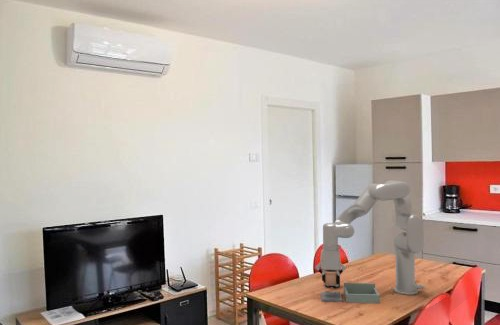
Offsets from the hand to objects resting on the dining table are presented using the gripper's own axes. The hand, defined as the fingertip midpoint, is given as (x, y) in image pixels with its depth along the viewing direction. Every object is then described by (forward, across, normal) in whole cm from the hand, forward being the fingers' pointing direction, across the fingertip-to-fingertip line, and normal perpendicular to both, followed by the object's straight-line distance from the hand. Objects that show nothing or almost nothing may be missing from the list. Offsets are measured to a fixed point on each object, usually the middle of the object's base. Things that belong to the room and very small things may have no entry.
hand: (330, 282), depth 211 cm
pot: (+1, 0, 0) cm, 1 cm away
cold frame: (+8, -15, 0) cm, 17 cm away
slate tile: (+8, 0, 0) cm, 8 cm away
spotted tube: (+8, -2, -20) cm, 21 cm away
